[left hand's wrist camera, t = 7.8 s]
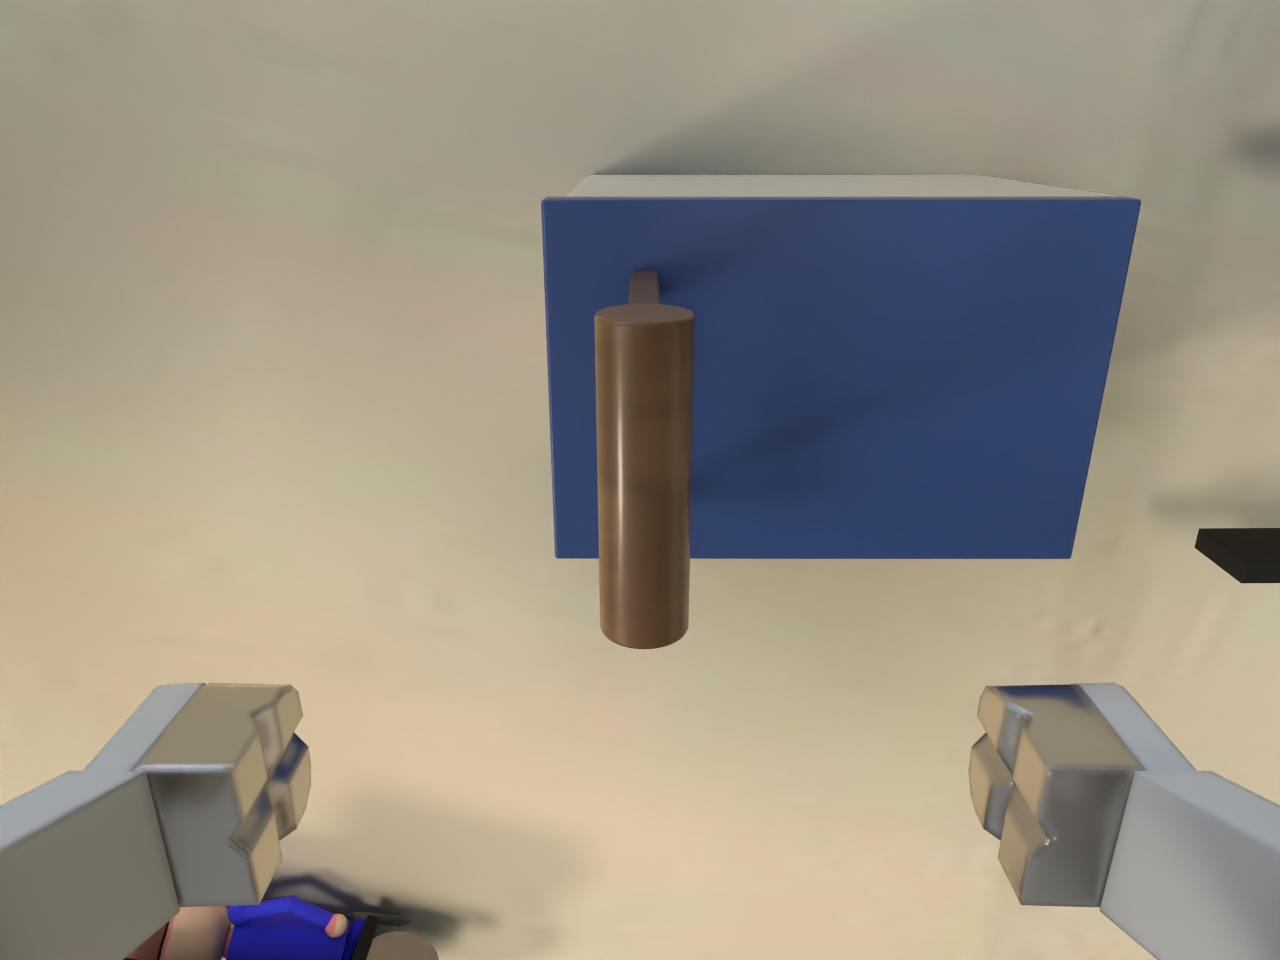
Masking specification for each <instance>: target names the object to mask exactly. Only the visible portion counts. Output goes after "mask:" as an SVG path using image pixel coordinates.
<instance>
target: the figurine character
mask: <svg viewBox="0 0 1280 960" xmlns="http://www.w3.org/2000/svg"><path fill="white" fill-rule="evenodd" d="M284 913H290V914H293V915H289V914H284ZM345 916H346V917H347V918H349V919H350V920H352V921H353V924H352V926H351V928H350V930H349V925H350V920H347V919H346V917H345ZM230 922H231V923H232V924H234V925H235V926H234V929H233V930H230ZM407 923H410V921H409V920H407V919H406V918H404V917H403V916H402V915H394V914H383V913H373V912H363V911H355V912H352V913H349V914H347V915H342V914H334V913H331V912H329V911H327V910H325V909H322V908H320V907H318V906H315V905H313V904H311V903H308V902H306V901H304V900H301V899H299V898H297V897H295V896H292V895H291V896H288V897H283V898H277V899H272V900H266V901H261V902H260V904H259V905H240V906H229V907H228V909H227V907H226V906H206V907H180V912H179V913H178V914H177V915H175V916H174V917H173V918H172V919H171V920H170V921H168V922H167V923H166V924H165V925H164V926H162V927H161V928H160V929H159V930H158V931H156V932H155V933H154V934H153V935H152V936H151V937H149V938H148V939H147V940H146V941H145V942H143V943H142V944H141V945H140V946H139V947H137V948H136V949H135V950H134V951H133V952H132V953H130V954H129V955H128V956H127V957H126V958H124V959H123V960H221V959H222V957H223V958H226V960H438V955H437V953H436V950H435V949H434V947H433V946H432V945H431V944H430V943H429V942H428V941H427V940H426V939H424V938H423V937H421V936H419V935H416V934H414V933H410V932H404V931H393V932H388V933H384V934H381V935H379V936H377V937H375V935H376V931H377V927H378V924H380V925H390V926H402V925H404V924H407ZM348 930H349V933H348Z"/></svg>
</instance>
